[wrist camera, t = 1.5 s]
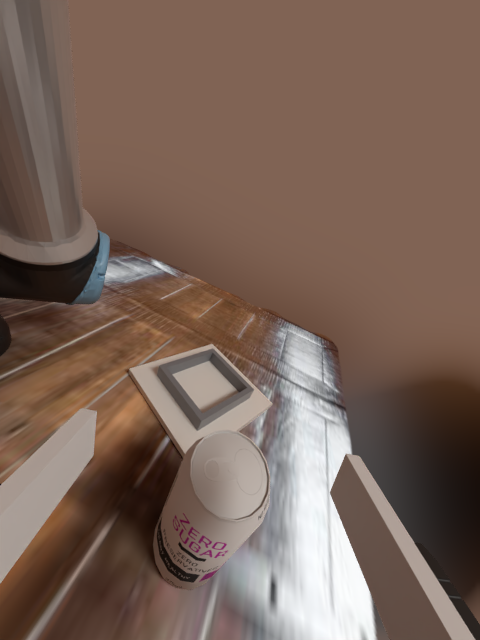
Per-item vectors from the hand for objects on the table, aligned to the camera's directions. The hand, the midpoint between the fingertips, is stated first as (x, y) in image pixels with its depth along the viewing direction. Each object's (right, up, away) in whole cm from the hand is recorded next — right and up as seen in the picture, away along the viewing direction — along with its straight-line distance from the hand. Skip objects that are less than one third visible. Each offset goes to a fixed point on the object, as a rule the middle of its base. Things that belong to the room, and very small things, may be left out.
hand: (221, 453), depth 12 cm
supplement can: (-5, -18, +14) cm, 23 cm away
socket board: (-6, -7, +32) cm, 33 cm away
